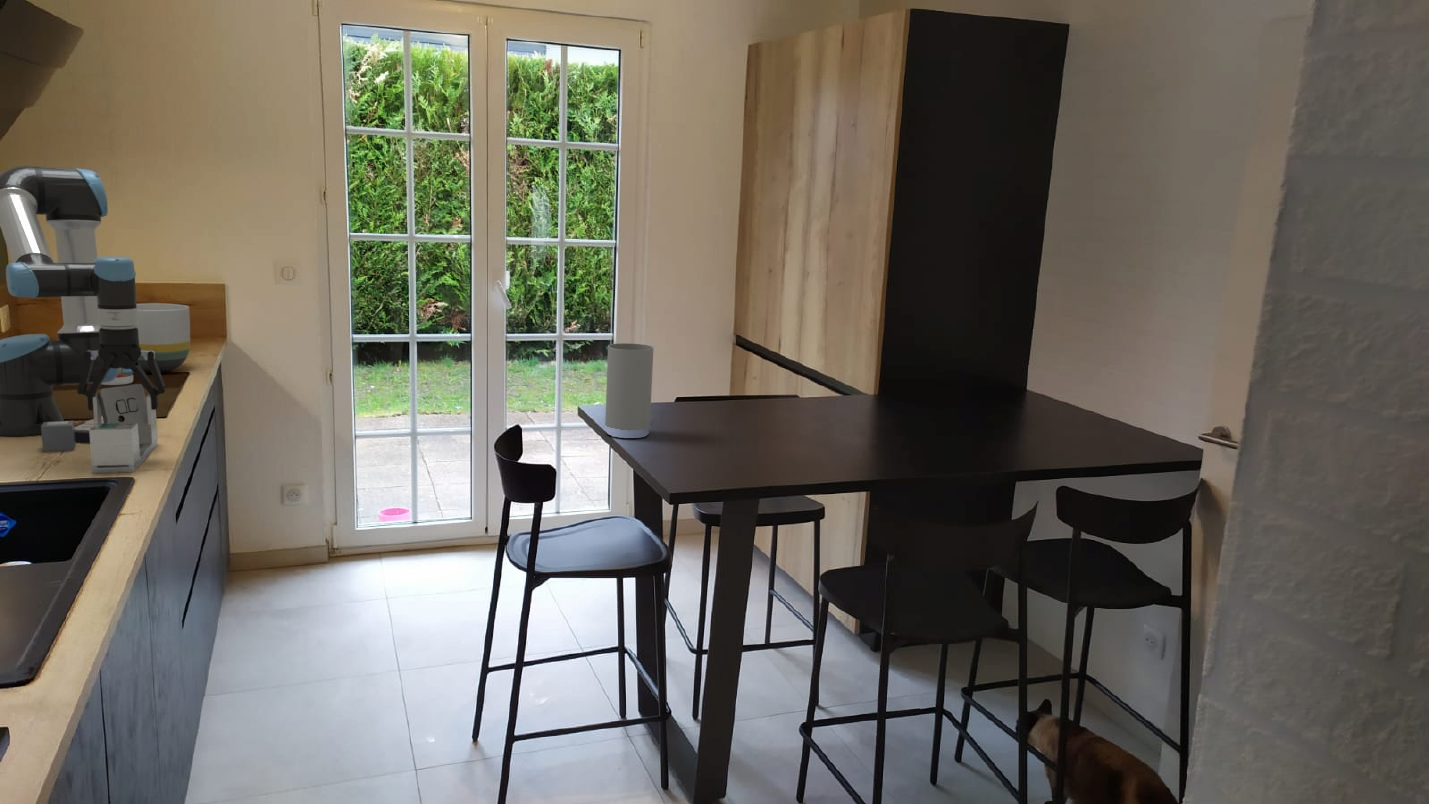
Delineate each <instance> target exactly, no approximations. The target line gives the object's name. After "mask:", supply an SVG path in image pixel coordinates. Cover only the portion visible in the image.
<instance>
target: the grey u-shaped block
mask: <svg viewBox="0 0 1429 804" xmlns="http://www.w3.org/2000/svg"><path fill="white" fill-rule="evenodd" d="M156 410H157V409H156ZM156 410H154V423H153V424H152V425H148V423H147V424H142V425H138V423H98V424H95V425H94V426H93V427H92V428H91V429H90V430H89V434H90V443H89V446H90V447H89V448H90V459H91V473H92V474H113V473H114V474H116V473H117V474H120V473H135V472H136V471H137V470H138V468H139V467H140V466H141V465H142V463H143V462H144V461H146V459H147V457H149V455H150V454H152V453H151V452H152V451H154V449H155V448H156V447H157V446H158V444H159V443H158V427H157V426H158V425H157V411H156ZM119 419H120V418H119ZM156 445H157V446H156Z"/></svg>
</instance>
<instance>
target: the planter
mask: <svg viewBox="0 0 1429 804" xmlns="http://www.w3.org/2000/svg"><path fill="white" fill-rule="evenodd" d="M136 306H137V318H138V324H137V325H136V326H135V327H136V328H137V329H138V335H139V347H140V349H141V350H142V351H151V350H154V351H155V352H156V362H157V365H158V368H159V370H160V373H164V372H170V371H173V370H176V369H177V368H179V367H180V366H181V365H183V363H184V362H185V361H187V359H188V355H189V352H190V348H191V321H190V320H191V318H190V317H191V316H190V306H189V305H184V304H175V303H136ZM137 362H138V363H139V364H140V366H141V368H142V370H143V371H144V372H145V371H146V372H149V373H151V370H150V368H149V365H148V361H147V360H145V359H144V357H143V356H142V355H141V356H140V357H139V359H138V360H137Z"/></svg>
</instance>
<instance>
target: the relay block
mask: <svg viewBox="0 0 1429 804" xmlns="http://www.w3.org/2000/svg"><path fill="white" fill-rule="evenodd" d="M40 435H41V442H42V443H41V444H42V453H48V452H65V451H66V452H68V451H74V450H75V449H76V446H77V445H76V444H77V442H75V421H74V420H63V421H58V422H43V424H42V426H41V434H40Z"/></svg>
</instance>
